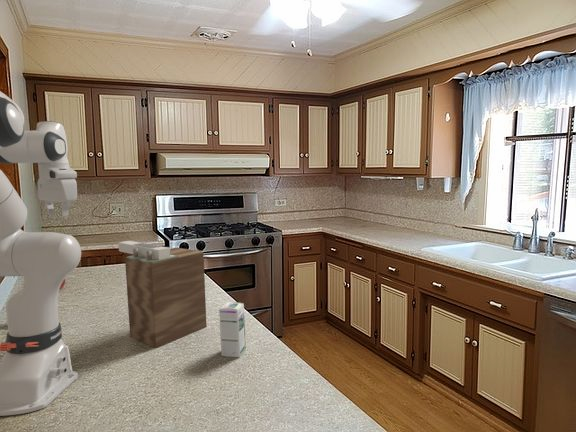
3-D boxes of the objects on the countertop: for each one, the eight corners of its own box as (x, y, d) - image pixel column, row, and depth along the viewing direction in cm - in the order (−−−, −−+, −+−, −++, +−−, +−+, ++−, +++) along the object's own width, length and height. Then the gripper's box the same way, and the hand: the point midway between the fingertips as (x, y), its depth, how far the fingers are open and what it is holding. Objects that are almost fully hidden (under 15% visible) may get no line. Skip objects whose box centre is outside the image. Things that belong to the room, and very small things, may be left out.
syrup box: (240, 358, 120) (238, 309, 118) (220, 356, 121) (218, 307, 119) (246, 349, 125) (244, 302, 123) (227, 347, 126) (225, 301, 125)
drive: (170, 257, 130) (169, 247, 130) (159, 259, 127) (158, 249, 127) (129, 249, 143) (129, 240, 143) (119, 251, 140) (118, 242, 140)
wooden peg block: (206, 326, 143) (203, 243, 139) (156, 348, 127) (151, 254, 123) (180, 318, 151) (176, 239, 147) (130, 337, 135) (124, 248, 132)
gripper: (30, 173, 140) (34, 214, 142) (59, 173, 128) (62, 218, 130) (50, 172, 145) (53, 212, 147) (79, 172, 133) (83, 215, 135)
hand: (58, 215), depth 138 cm, fingers open, 8 cm apart
